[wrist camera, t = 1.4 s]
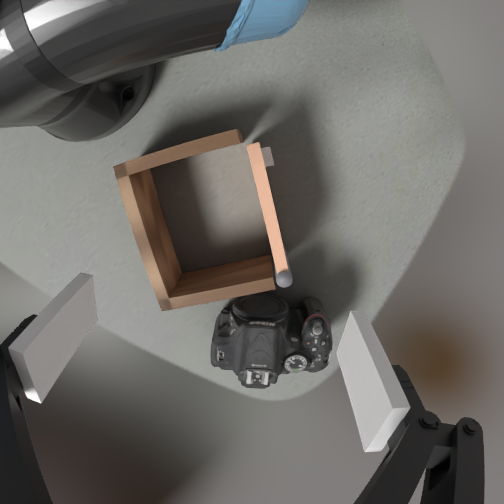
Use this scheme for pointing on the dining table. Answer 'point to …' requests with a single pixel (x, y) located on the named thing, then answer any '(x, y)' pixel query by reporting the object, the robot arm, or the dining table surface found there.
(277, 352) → the camera
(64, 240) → the dining table surface
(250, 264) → the frame
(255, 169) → the hatch
